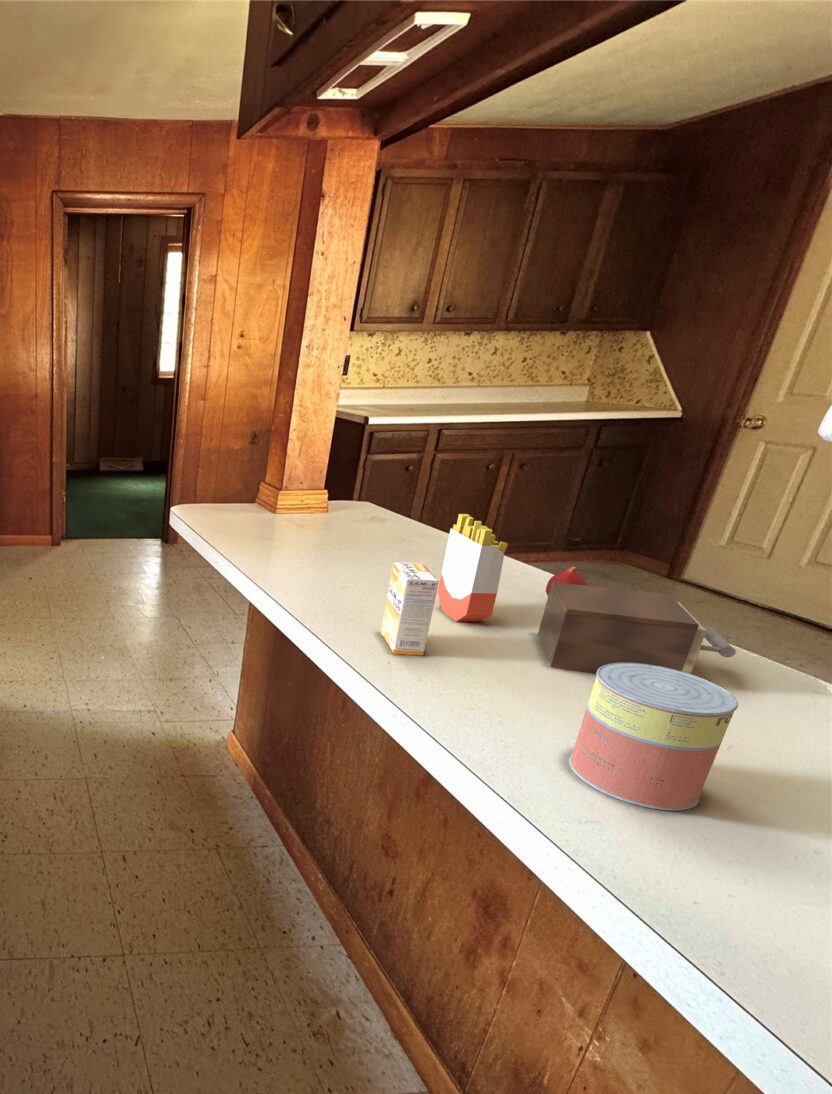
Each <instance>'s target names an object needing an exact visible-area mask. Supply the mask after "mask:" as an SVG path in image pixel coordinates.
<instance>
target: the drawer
mask: <svg viewBox="0 0 832 1094" xmlns="http://www.w3.org/2000/svg"><path fill="white" fill-rule="evenodd" d="M676 602H677V603H678V604H679V605H680V606H681V607H682V608H683V609H684V610H685V611H686V612H687V613H688V614H689V615H690V616H691V617H692V618H693V619H694V620H695V621H696V622H697V623H698V624H699V626H698V629H697V632H696V634H695V637H694V640H693V642H692V645H691V648H690V651H689V653H688V656H687V659H686V661H685V664H684V667H683V670H682V672H685V673H688V674H691V675H692V671H693V668H694V666H695V663H696V660H697V658H698V655H699V653H700V651H704V652H713V653H718V654H719V655H720V656H721V657H723V658H732V657H733V656H735V655H736V653H737V652H736V649H735V648H734V647H733V645H731V644H730V643H729V642H728V641H727V640H726V638H724V637H723V636H722V635H721V634H720V633H719V632H718V631H717V630H716V629H715V628H714V627H712V626H710V625H704V626H703V625H702V624H701V623H700V622H699V621H698V620H697V619H696V618H695V616H693V615H692V614H691V613H690V612H689V611H688V610H687V609H686V608H685V606H683V605H682V603H680V602H679V601H676ZM704 639H705V640H706V641H707V642H708V644H709V645H704V644H703V642H704Z"/></svg>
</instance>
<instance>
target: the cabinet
mask: <svg viewBox="0 0 832 1094" xmlns="http://www.w3.org/2000/svg"><path fill="white" fill-rule="evenodd" d="M677 602H678V601H677V600H676V599H674V597H673V596H672V595H671V594H668V593H659V592H650V591H639V590H632V589H630V590H629V589H622V588H612V587H603V586H594V585H587V586H585V585H576V584H567V583H557V582H552V584H551V588H550V591H549V595H548V596H547V599H546V602H545V606H544V610H543V613H542V616H541V617H542V618H541V621H540V624H539V628H538V632H537V638H538V640H539V643H540V645H541V647H542V650H543V652H544V654H545V657H546V659H547V662H548V664H549V667H551V668H555V669H563V670H568V671H575V672H582V673H590V674H595V675H597V670H598V669H599V668H600V667H602V666H604V665H607V664H611V663H641V664H649V665H655V666H661V667H665V668H670V669H674V670H678V671H682V670H683V667H684V664H685V661H686V659H687V656H688V653H689V651H690V648H691V645H692V642H693V640H694V637H695V634H696V632H697V629H698V626H699V624H698V623H697V622H696V621H695V620H694V619H693V618H692V617H691V616H690V615H689V614H688V613H687V612H686V611H685V610H684V609H683V608H682V607H681V606H680V605H679V604H678V603H677Z"/></svg>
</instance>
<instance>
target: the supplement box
mask: <svg viewBox="0 0 832 1094" xmlns="http://www.w3.org/2000/svg"><path fill="white" fill-rule="evenodd" d="M439 583H440V579H438V578H437V577H436V576H435V575H434V574H433V573H432V571H430V569H428V567H426V565H425V564H424V563H422V562H421V563H420V562H404V561H403V562H399V561H397V562H392V567H391V573H390V578H389V584H388V590H387V595H386V601H385V607H384V611H383V617H382V624H381V629H380V634H381V636H382V637H383V638H384V640H385V641H386V643H387V645H388V646H389V649H390V651H391V652H392V654H394V655H410V656H424V654H425V649H426V645H427V640H428V635H429V630H430V625H431V621H432V616H433V611H434V607H435V602H436V598H437V594H438V588H439Z"/></svg>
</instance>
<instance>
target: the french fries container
mask: <svg viewBox="0 0 832 1094" xmlns="http://www.w3.org/2000/svg"><path fill="white" fill-rule="evenodd" d="M457 516H458V517H457V521H456V523H454V524H453V526H452V527H450V530H449V534H448V540H447V544H446V549H445V553H444V554H445V555H444V558H443V564H442V569H441V573H440V578H439V584H438V589H437V596H438V601H439V603H440V604H439V605H440V609H441V611H442V612H444V613H445V614H446V615H447V616H449V618H450V619H452V620H454V621H455V622H469V623H471V622H472V623H473V622H474V623H475V622H476V623H481V622H483V621H484V620H486V619H487V618H489V617H491V616H493V612H494V608H495V603H496V600H497V595H498V591H499V583H500V579H501V574H502V568H503V563H504V559H505V552H506V550H507V547H508V546H509V543H507V542H504V541H500V542H499V541H497V540H496V539H497V536H496V534H493V529H491V528H488V526H487V525H482V524H483V523H482V521H481V520H475V518H474V517H472V516H471V515H470V514H468V513H458V515H457Z"/></svg>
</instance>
